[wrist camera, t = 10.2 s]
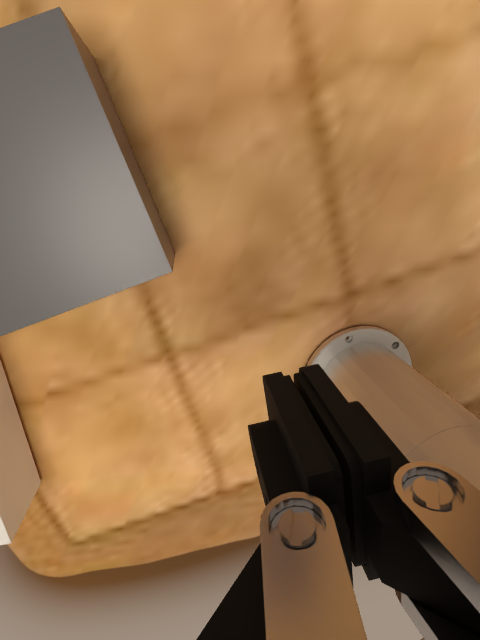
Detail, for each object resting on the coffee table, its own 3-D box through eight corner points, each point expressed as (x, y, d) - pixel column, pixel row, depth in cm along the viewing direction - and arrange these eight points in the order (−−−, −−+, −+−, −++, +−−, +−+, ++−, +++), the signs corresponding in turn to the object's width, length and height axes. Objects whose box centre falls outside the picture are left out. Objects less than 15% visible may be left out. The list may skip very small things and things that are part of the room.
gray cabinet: (175, 253, 33) (172, 271, 26) (-27, 329, 33) (-89, 369, 25) (93, 56, 27) (59, 6, 20) (-154, 146, 27) (-283, 129, 19)
